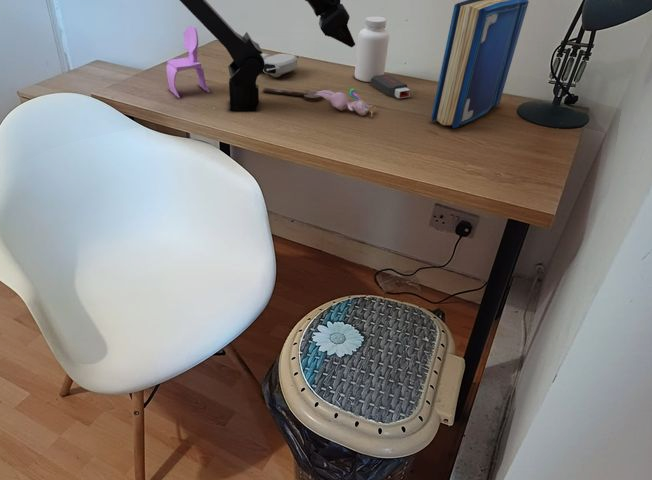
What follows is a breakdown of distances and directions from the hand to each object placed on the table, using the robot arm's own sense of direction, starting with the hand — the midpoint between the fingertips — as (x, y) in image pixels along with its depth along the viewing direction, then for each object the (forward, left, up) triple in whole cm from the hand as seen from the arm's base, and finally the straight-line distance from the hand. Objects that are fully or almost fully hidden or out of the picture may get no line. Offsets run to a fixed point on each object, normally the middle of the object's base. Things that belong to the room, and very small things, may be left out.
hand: (350, 38), depth 121 cm
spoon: (-13, +4, -15) cm, 20 cm away
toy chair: (-39, +7, -15) cm, 42 cm away
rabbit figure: (-1, -6, -15) cm, 16 cm away
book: (+28, -9, -15) cm, 33 cm away
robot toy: (-18, +22, -15) cm, 32 cm away
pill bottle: (+9, +17, -15) cm, 24 cm away
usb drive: (+13, +7, -15) cm, 21 cm away
